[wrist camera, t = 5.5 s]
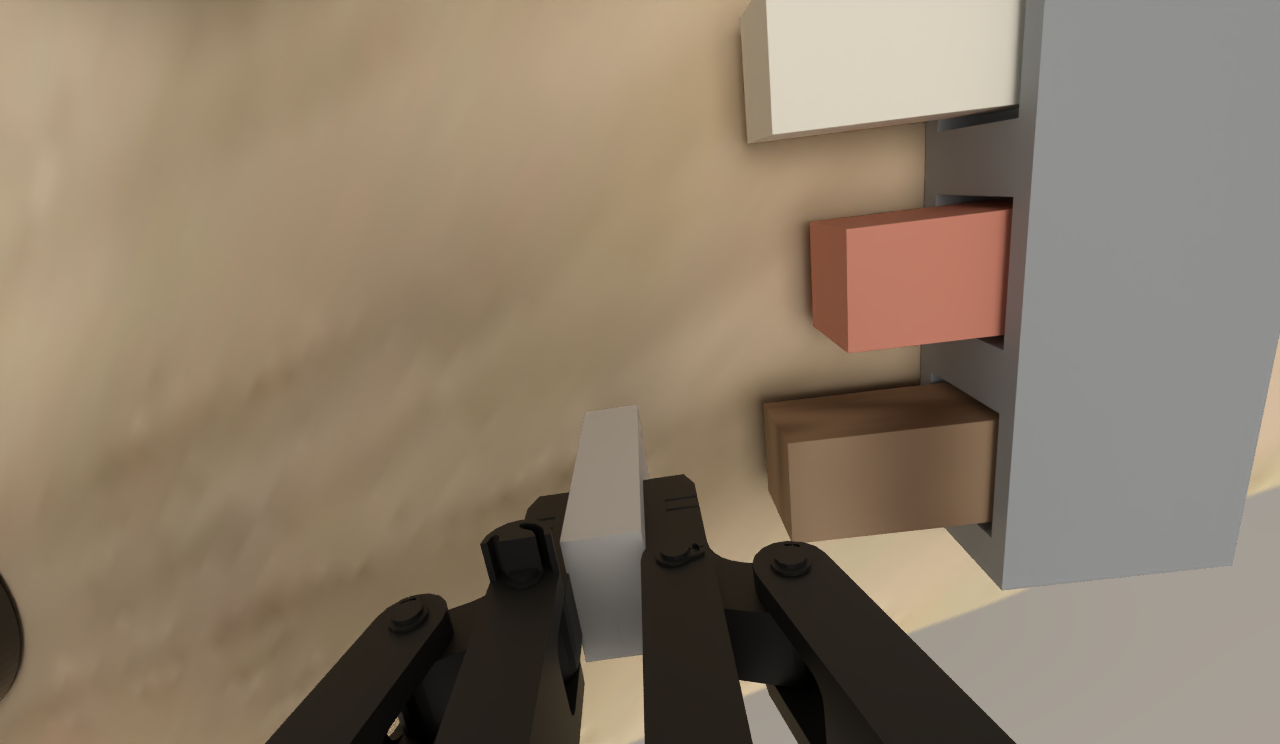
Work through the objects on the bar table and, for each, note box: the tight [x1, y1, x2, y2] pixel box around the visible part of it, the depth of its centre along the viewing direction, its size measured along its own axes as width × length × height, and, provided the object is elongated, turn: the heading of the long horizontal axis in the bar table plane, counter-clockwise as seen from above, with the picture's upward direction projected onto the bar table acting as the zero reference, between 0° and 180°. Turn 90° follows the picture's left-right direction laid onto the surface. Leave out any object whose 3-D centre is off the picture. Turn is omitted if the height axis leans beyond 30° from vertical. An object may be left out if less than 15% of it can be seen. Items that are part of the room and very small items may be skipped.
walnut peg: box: [763, 382, 999, 543], centre depth 23 cm, size 9×4×4 cm, turn 97°
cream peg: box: [740, 0, 1026, 144], centre depth 19 cm, size 9×4×4 cm, turn 97°
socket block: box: [920, 0, 1280, 590], centre depth 21 cm, size 8×22×6 cm, turn 7°
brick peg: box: [810, 197, 1013, 353], centre depth 21 cm, size 9×4×4 cm, turn 97°
